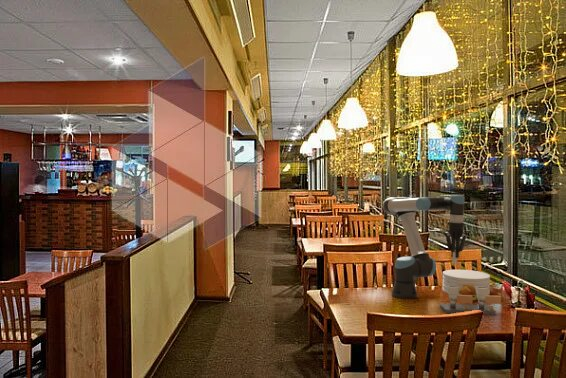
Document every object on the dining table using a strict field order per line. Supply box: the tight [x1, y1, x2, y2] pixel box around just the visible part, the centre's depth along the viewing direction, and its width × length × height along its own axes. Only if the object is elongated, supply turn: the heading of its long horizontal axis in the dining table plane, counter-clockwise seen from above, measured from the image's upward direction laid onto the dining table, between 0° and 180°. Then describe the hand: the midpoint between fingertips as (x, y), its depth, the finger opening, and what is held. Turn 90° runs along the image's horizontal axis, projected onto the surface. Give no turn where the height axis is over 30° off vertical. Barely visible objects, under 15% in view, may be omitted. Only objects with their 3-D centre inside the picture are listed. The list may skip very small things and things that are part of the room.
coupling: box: [447, 286, 474, 304], centre depth 251 cm, size 12×4×9 cm, turn 80°
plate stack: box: [442, 269, 491, 295], centre depth 294 cm, size 28×28×12 cm
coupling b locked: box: [476, 287, 502, 305], centre depth 250 cm, size 12×4×9 cm, turn 85°
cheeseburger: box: [459, 285, 477, 302], centre depth 274 cm, size 10×11×10 cm
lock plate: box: [439, 299, 497, 316], centre depth 251 cm, size 26×12×6 cm, turn 85°
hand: (454, 263), depth 262 cm, fingers closed
